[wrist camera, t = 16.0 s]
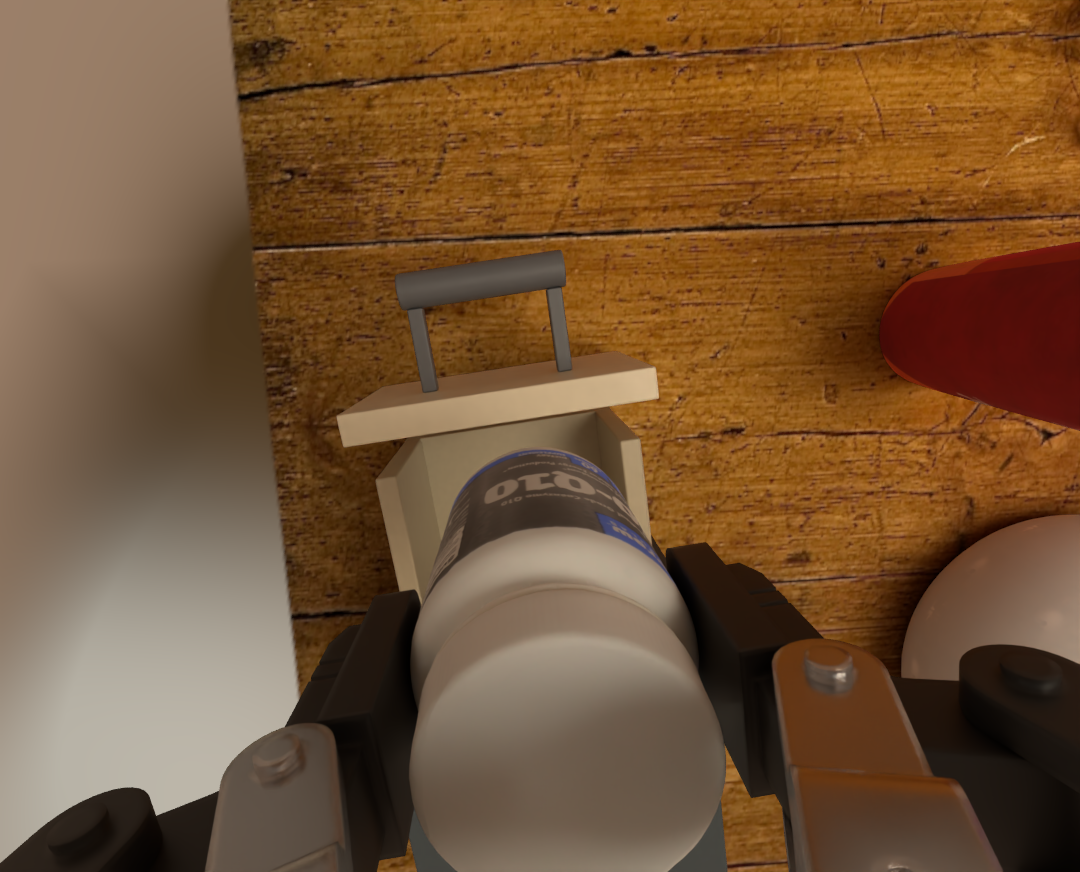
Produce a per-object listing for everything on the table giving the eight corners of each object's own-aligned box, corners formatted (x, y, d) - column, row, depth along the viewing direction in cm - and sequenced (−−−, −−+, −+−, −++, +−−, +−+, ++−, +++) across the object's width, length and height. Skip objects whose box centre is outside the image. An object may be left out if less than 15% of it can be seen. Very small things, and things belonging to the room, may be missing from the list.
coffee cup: (915, 437, 32) (1265, 549, 17) (825, 323, 30) (1126, 338, 15) (1043, 329, 31) (1528, 349, 16) (958, 206, 29) (1409, 104, 15)
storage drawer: (361, 288, 28) (304, 280, 20) (605, 251, 28) (641, 230, 20) (433, 635, 32) (409, 741, 24) (646, 601, 32) (690, 694, 24)
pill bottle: (651, 469, 15) (819, 657, 7) (597, 630, 16) (692, 964, 8) (472, 421, 15) (428, 563, 7) (427, 591, 16) (338, 904, 7)
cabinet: (411, 562, 32) (369, 672, 22) (645, 525, 32) (703, 618, 22) (459, 791, 35) (441, 974, 25) (672, 756, 35) (732, 923, 26)
